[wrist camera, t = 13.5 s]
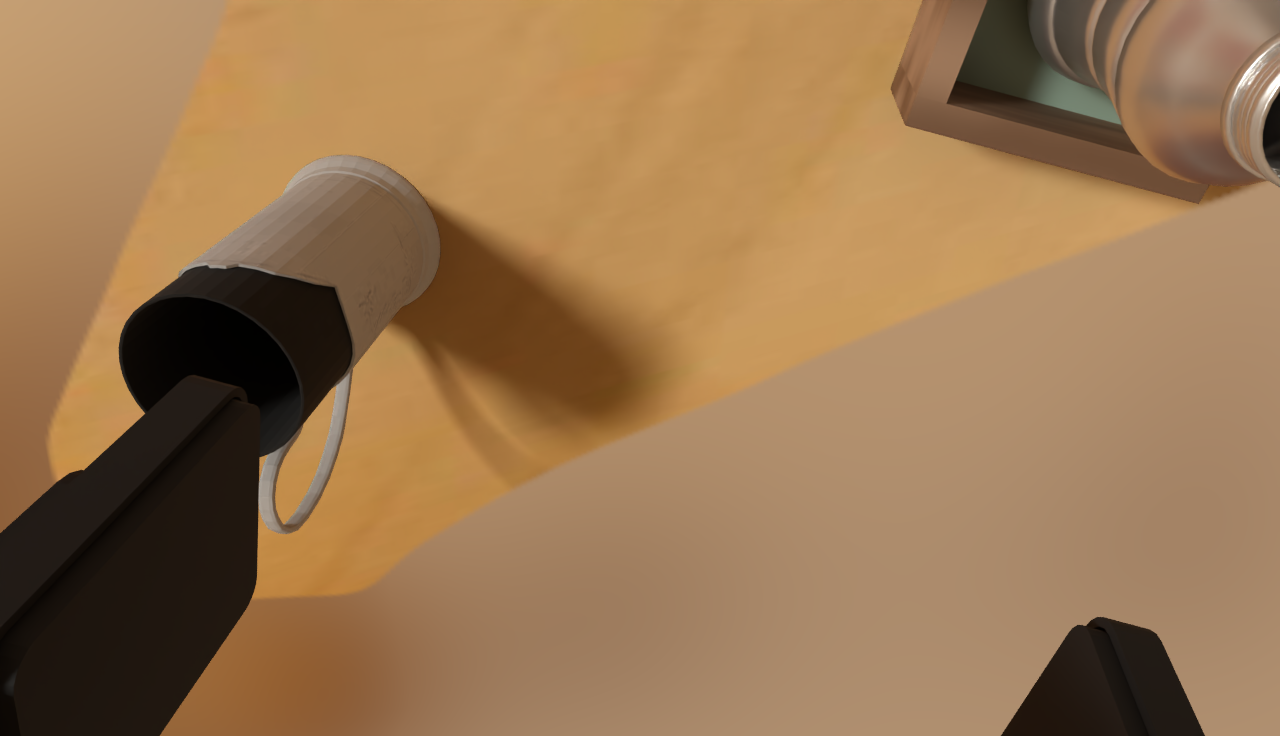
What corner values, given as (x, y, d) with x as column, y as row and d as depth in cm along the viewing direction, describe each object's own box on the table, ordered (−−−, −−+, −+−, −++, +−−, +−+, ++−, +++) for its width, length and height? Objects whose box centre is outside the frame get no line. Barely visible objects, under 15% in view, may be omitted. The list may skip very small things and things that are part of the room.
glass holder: (429, 157, 47) (295, 283, 34) (460, 400, 54) (359, 580, 41) (263, 152, 48) (73, 273, 35) (315, 391, 55) (171, 564, 42)
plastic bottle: (1217, -87, 37) (1587, -7, 20) (1139, 86, 40) (1397, 281, 23) (1053, -121, 37) (1280, -72, 20) (990, 53, 41) (1137, 223, 23)
